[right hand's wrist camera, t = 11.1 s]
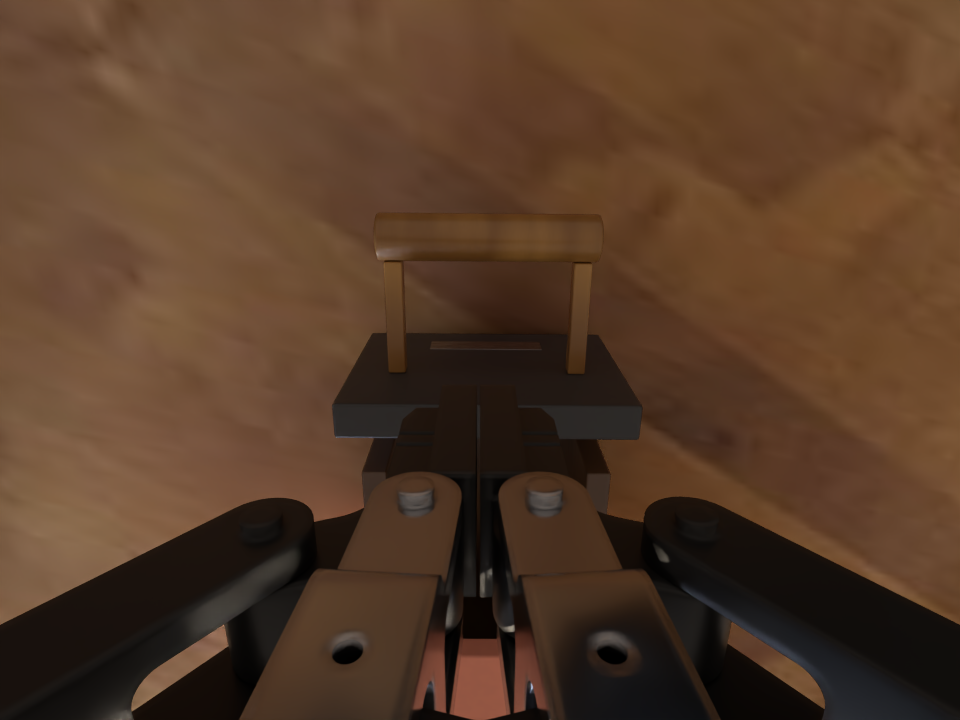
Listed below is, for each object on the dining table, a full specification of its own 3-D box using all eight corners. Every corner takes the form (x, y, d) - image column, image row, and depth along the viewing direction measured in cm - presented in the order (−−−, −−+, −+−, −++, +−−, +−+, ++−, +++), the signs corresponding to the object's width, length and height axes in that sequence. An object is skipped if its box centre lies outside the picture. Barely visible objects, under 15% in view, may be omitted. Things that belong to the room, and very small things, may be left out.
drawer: (364, 199, 23) (315, 224, 16) (609, 202, 23) (664, 226, 16) (391, 674, 32) (367, 820, 25) (570, 675, 32) (595, 821, 25)
